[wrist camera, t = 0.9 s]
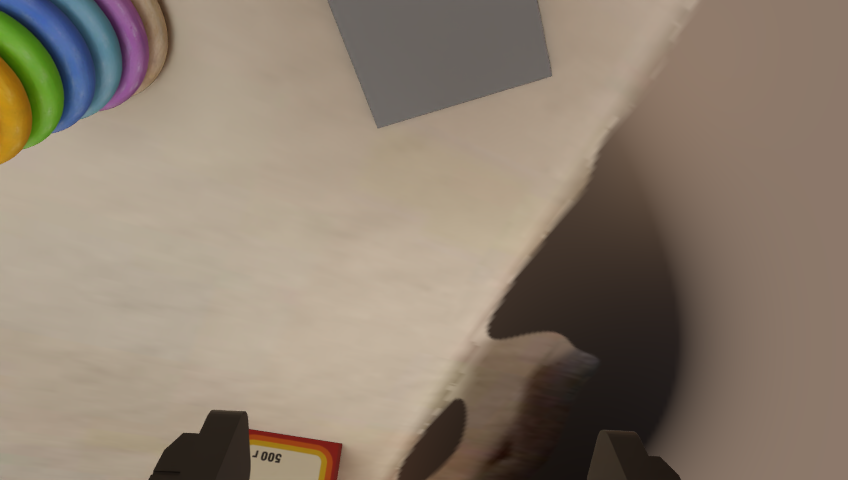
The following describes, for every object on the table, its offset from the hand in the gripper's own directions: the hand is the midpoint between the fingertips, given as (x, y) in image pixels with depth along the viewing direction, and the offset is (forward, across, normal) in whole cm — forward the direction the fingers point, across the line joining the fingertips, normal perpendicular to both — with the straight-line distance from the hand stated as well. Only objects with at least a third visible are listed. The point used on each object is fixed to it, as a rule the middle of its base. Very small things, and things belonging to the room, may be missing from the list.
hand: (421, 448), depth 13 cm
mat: (+22, 0, -8) cm, 23 cm away
